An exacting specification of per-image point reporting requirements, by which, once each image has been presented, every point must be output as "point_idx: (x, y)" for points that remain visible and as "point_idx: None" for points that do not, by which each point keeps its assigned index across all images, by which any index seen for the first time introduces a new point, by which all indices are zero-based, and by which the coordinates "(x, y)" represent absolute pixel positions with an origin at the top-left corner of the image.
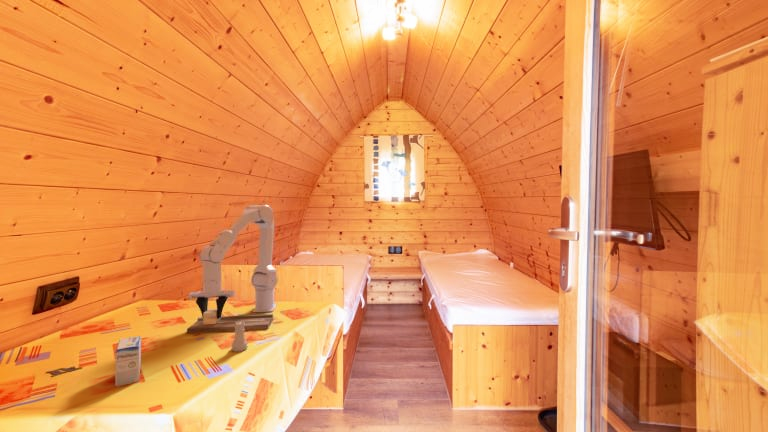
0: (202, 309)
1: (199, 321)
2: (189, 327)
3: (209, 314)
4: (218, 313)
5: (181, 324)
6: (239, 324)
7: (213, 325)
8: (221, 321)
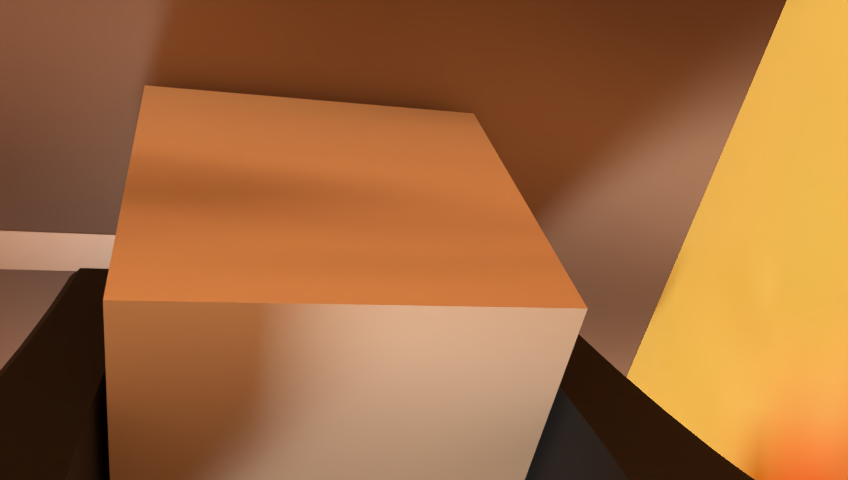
0: (663, 465)
1: None
2: (757, 36)
3: (354, 266)
4: (46, 352)
5: (802, 403)
6: None
7: (189, 28)
8: None
